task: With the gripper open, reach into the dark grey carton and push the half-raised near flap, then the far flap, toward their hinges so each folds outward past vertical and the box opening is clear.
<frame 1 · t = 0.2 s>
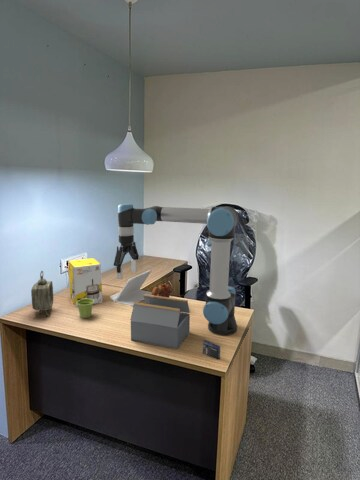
hand: (127, 275, 172), 28 cm above the table, fingers open, 13 cm apart
tabletop clock: (43, 313, 191), on the table
far flap: (166, 303, 169), point 14 cm above the table, hinge at 60.0°
reddish brown bumpy lump: (161, 309, 198), on the table
plant pot: (85, 316, 188), on the table
packaging box: (85, 300, 211), on the table
mini dv tape: (211, 356, 148), on the table
tablet stand: (133, 297, 218), on the table
near flap: (154, 314, 156), point 14 cm above the table, hinge at 60.0°
carton: (161, 336, 165), on the table
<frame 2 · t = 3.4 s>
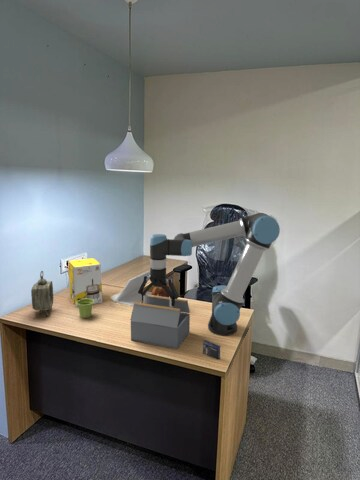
hand: (158, 309, 160), 15 cm above the table, fingers open, 13 cm apart
near flap: (154, 314, 156), point 14 cm above the table, hinge at 60.0°, touching gripper
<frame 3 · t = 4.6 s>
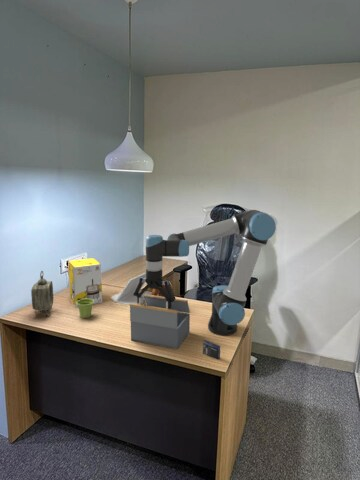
hand: (154, 312, 155), 16 cm above the table
near flap: (153, 315, 154), point 15 cm above the table, hinge at 89.2°, touching gripper
everything else where it was.
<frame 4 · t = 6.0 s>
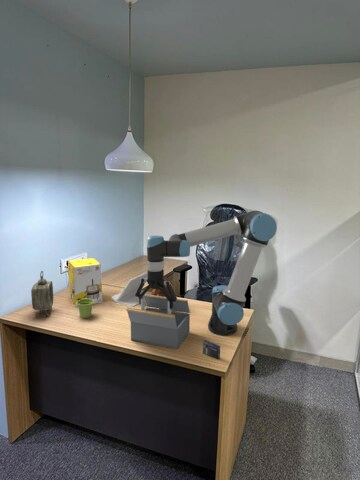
hand: (155, 312, 156), 15 cm above the table, fingers open, 13 cm apart
near flap: (151, 318, 152), point 14 cm above the table, hinge at 113.6°
everything else where it was.
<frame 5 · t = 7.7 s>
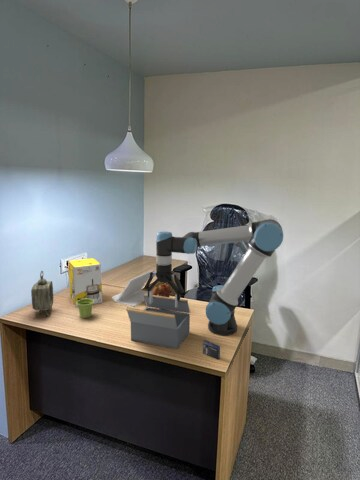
hand: (163, 304, 165), 15 cm above the table, fingers open, 13 cm apart
far flap: (166, 303, 169), point 15 cm above the table, hinge at 61.3°, touching gripper
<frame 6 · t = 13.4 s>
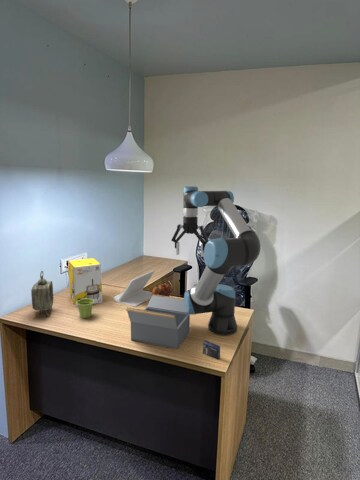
hand: (189, 255, 178), 37 cm above the table, fingers open, 13 cm apart
far flap: (170, 304, 175), point 12 cm above the table, hinge at 150.8°, touching arm
at the end: near flap at +114° (first picture: +60°); far flap at +151° (first picture: +60°) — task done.
